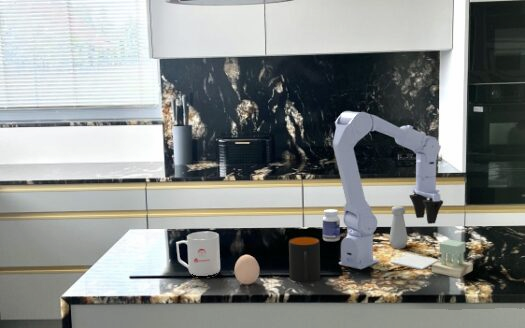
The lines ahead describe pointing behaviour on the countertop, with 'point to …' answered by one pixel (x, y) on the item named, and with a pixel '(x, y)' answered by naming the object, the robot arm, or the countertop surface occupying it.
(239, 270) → the egg
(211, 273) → the mug
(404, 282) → the countertop surface
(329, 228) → the pill bottle
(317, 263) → the mug
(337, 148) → the robot arm
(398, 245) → the salt shaker
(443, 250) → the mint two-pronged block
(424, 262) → the pad
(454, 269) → the step
